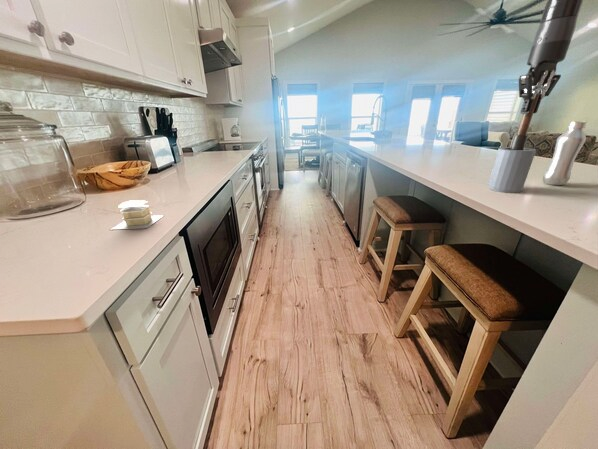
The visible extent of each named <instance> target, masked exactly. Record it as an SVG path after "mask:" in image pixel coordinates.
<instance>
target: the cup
mask: <svg viewBox="0 0 598 449" xmlns="http://www.w3.org/2000/svg"><path fill="white" fill-rule="evenodd" d="M510 148H511V146H507V147H506V146H503V147H499V148H498V149H497V152H496V156H495V158H494V162H493V166H492V170H491V173H490V176H489V180H488V183H487V189H489V190H490V191H494V192H498V193H504V194H505V193H507V194H517V193H522V192H523V189H524V186H525V183H526V181H527V178H528V175H529V172H530V169H531V166H532V163H533V161H534V158H535V155H536V152H537V149H536V148H531V147H524V150H510Z"/></svg>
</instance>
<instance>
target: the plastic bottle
mask: <svg viewBox="0 0 598 449" xmlns="http://www.w3.org/2000/svg"><path fill="white" fill-rule="evenodd" d="M587 123H588V122H587V121H570V122H569V123H568V126H567V127H566V128H567V130H566V131H563V133H561V135H559V136H558V137H557V138H556V143H555V146H554V152H553V156H552V159H551V161H550V163H549V165H548V166H547V169H546V170H545V172H544V173H543V175H542V183H544V184H548V185H550V186H551V185H552V186H563V185H565V184H567V183H568V182H569V181H570V179H571V175H572V169H573V166H574V163H575V160H576V158H577V157H578V155H579V153H580V151H581V149H582V147H583V146H584V144H585V142H586V141H587V136H586V134H585V131H584V129H585V128H586V125H587Z"/></svg>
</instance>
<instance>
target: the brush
mask: <svg viewBox="0 0 598 449" xmlns="http://www.w3.org/2000/svg"><path fill="white" fill-rule="evenodd" d="M538 97H539V94H538V93H537V94H536V97H535V98H534V99H533V100H534V103H533V106H532V109H531V112H530V113H529V114H522V117H521V120H520V123H519V126H518V130H517V132H516V134H513V135H514V136H513V138H512V142H511V145H510V147H511V148H510V150H524V148H526V147H525V146H526V144H527V141H528V137H529V134H527V133H528V131H529V128H530V124H531V122H532V118H533V116H534V114H535V113H534V110H535V107H536V104H537V100H538ZM533 113H534V114H533Z"/></svg>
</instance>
